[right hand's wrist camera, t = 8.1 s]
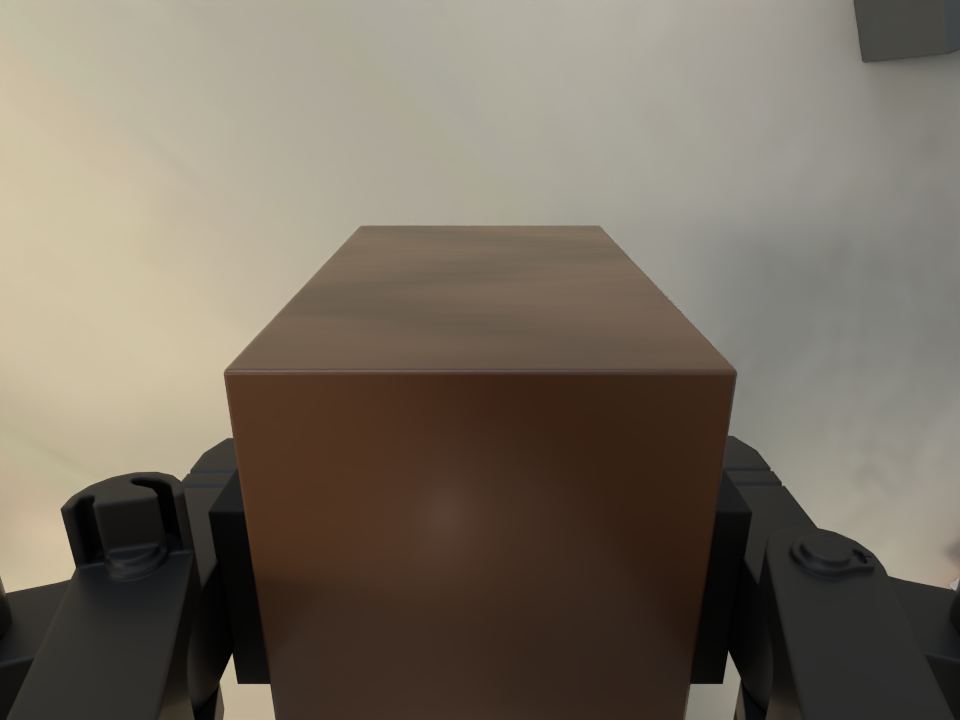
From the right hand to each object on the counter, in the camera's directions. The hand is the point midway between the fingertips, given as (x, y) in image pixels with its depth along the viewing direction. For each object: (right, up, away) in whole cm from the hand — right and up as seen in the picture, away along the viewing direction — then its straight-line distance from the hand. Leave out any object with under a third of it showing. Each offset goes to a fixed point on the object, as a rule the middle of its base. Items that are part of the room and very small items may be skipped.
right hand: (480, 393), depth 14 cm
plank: (0, -10, +5) cm, 11 cm away
